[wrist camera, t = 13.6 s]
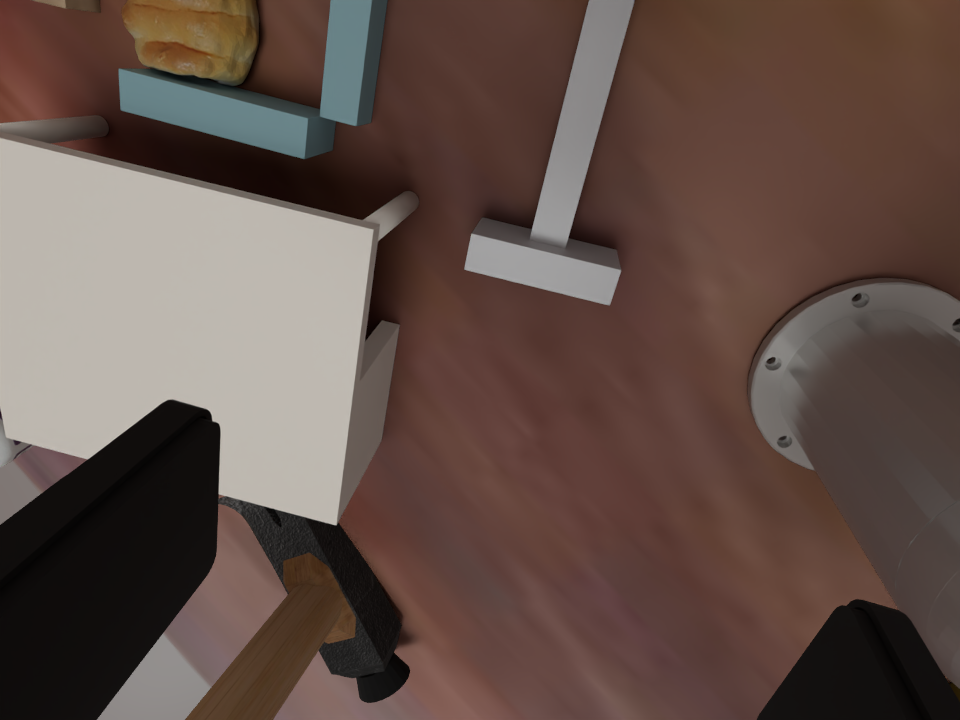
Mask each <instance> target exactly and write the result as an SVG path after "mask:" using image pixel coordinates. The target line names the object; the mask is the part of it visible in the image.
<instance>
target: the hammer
mask: <svg viewBox="0 0 960 720" xmlns="http://www.w3.org/2000/svg"><path fill="white" fill-rule="evenodd" d="M218 504H222V505H226V506H228V507H230V508H232V509H234V510H236V511H237V512H238V513H240V514H241V515H242V516H243V517H244V518H245V520H246V521H247V523H248V524H249V526H250V527H251V529H252V531H253V533H254V534H255V536H256V538H257V539H258V541H259V543H260V545H261V546H262V548H263V550H264V552H265V553H266V555H267V557H268V559H269V560H270V562H271V564H272V566H273V568H274V569H275V571H276V573H277V575H278V577H279V579H280V580H281V582H282V584H283V586H284V588H285V590H286V591H287V593H288V595H287V597H286V598H285V599H284V600H283V602H282V603H281V604H280V605H279V606H278V608H277V609H276V610H275V611H274V612H273V614H272V615H271V616H270V617H269V618H268V620H267V621H266V622H265V623H264V625H263V626H262V627H261V628H260V629H259V631H258V632H257V633H256V634H255V635H254V637H253V638H252V639H251V640H250V642H249V643H248V644H247V645H246V646H245V648H244V649H243V650H242V651H241V652H240V654H239V655H238V656H237V657H236V658H235V660H234V661H233V662H232V663H231V665H230V666H229V667H228V668H227V669H226V671H225V672H224V673H223V674H222V675H221V677H220V678H219V679H218V680H217V682H216V683H215V684H214V685H213V686H212V688H211V689H210V690H209V691H208V692H207V694H206V695H205V696H204V697H203V699H202V700H201V701H200V702H199V703H198V705H197V706H196V707H195V708H194V709H193V711H192V712H191V713H190V714H189V716H188V717H187V718H186V719H185V720H273V719H274V717H275V716H276V714H277V713H278V711H279V710H280V708H281V707H282V705H283V703H284V702H285V700H286V699H287V697H288V696H289V694H290V693H291V691H292V690H293V688H294V687H295V685H296V684H297V682H298V681H299V679H300V678H301V676H302V675H303V673H304V672H305V670H306V669H307V667H308V666H309V664H310V663H311V661H312V659H313V658H314V656H315V655H316V653H317V652H318V650H319V652H320V654H321V656H322V658H323V659H324V661H325V663H326V665H327V667H328V669H329V670H330V672H331V674H336V675H340V676H344V677H349V678H356V679H357V685H358V691H359V697H360V699H361V700H362V701H364V702H367V703H372V702H377V701H380V700H383V699H385V698H387V697H389V696H391V695H392V694H394V693H395V692H396V691H398V690H399V689H400V688H401V687H402V686H403V685H404V684H405V682H406V680H407V679H408V677H409V674H410V669H409V666H408V665H407V664H406V663H404V662H403V661H402V660H401V659H400V658H399V657H398V656H397V655H396V654H395V653H394V651H395V649H396V646H397V642H398V638H399V632H400V629H401V626H402V625H401V623H400V621H399V619H398V618H397V616H396V614H395V612H394V610H393V608H392V607H391V605H390V603H389V601H388V599H387V598H386V596H385V594H384V592H383V590H382V588H381V587H380V585H379V583H378V581H377V579H376V577H375V576H374V574H373V572H372V570H371V568H370V567H369V566H368V564H367V563H366V561H365V560H364V558H363V557H362V556H361V554H360V553H359V551H358V550H357V549H356V547H355V546H354V544H353V543H352V542H351V540H350V539H349V537H348V536H347V534H346V533H345V532H344V530H343V529H342V527H341V526H340V525H339V523H338V524H337V525H332V524H329V523H325V522H321V521H317V520H314V519H310V518H306V517H302V516H299V515H295V514H291V513H287V512H284V511H280V510H276V509H272V508H269V507H265V506H261V505H257V504H254V503H250V502H246V501H242V500H239V499H235V498H231V497H227V496H225V497H222V498H220V499H218Z"/></svg>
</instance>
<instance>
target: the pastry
mask: <svg viewBox="0 0 960 720" xmlns="http://www.w3.org/2000/svg"><path fill="white" fill-rule="evenodd" d="M121 14H122V18H123V23H124V25H125V27H126V28H127V30H128V31H129V32H130V34H131V35H132V36H133V37H134V39H135V50H136V53H137V55H138V58H139V60H140V62H142V64H143V65H144V66H146V67H149V68H153V69H156V70H159V71H167V72H170V73H173V74H178V75H195V76H197V77H199V78H209V79H213V80H215V81H217V82H218V83H220V84H223V85H230V86H236V85H239V84H242V83H243V81H244V80H245V78H246V76H247V75H248V73H249V71H250V68H251V65H252V62H253V59H254V56H255V53H256V51H257V47H258V44H259V15H258V10H257V5H256V0H128V1H127V3H126V4H125V5H124V6H123V8H122V12H121Z"/></svg>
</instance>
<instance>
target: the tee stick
mask: <svg viewBox="0 0 960 720" xmlns="http://www.w3.org/2000/svg"><path fill="white" fill-rule="evenodd" d="M634 1H635V0H589V3H588V7H587V11H586V15H585V19H584V23H583V27H582V31H581V35H580V39H579V43H578V47H577V51H576V55H575V59H574V63H573V67H572V71H571V75H570V79H569V83H568V87H567V91H566V95H565V99H564V103H563V107H562V111H561V115H560V119H559V123H558V127H557V131H556V135H555V139H554V143H553V147H552V151H551V155H550V159H549V163H548V167H547V171H546V175H545V179H544V183H543V187H542V191H541V195H540V199H539V203H538V207H537V211H536V215H535V219H534V223H533V227H532V229H529V228H525V227H520V226H516V225H512V224H508V223H504V222H500V221H496V220H492V219H488V218H483V217H482V218H481V220H480V221H479V223H478V225H477V226H476V228H475V229H474V231H473V232H472V234H471V239H470V243H469V248H468V253H467V258H466V263H465V268H464V270H468V271H472V272H476V273H480V274H484V275H488V276H492V277H496V278H500V279H504V280H508V281H512V282H516V283H521V284H525V285H529V286H533V287H537V288H541V289H545V290H549V291H553V292H557V293H561V294H565V295H569V296H573V297H577V298H581V299H585V300H589V301H593V302H597V303H601V304H605V305H610V303H611V300H612V297H613V294H614V291H615V288H616V285H617V282H618V279H619V276H620V273H621V267H620V262H619V258H618V254H617V250H615V249H611V248H607V247H603V246H598V245H594V244H590V243H586V242H582V241H578V240H574V239H570V238H568V237H569V234H570V230H571V227H572V223H573V219H574V216H575V212H576V209H577V205H578V201H579V198H580V194H581V191H582V187H583V184H584V180H585V176H586V173H587V169H588V166H589V162H590V158H591V155H592V151H593V148H594V144H595V141H596V137H597V133H598V130H599V126H600V123H601V119H602V115H603V112H604V108H605V105H606V101H607V98H608V94H609V90H610V87H611V83H612V80H613V76H614V72H615V69H616V65H617V62H618V58H619V55H620V51H621V47H622V44H623V40H624V37H625V33H626V30H627V26H628V22H629V19H630V15H631V12H632V8H633V4H634Z"/></svg>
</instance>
